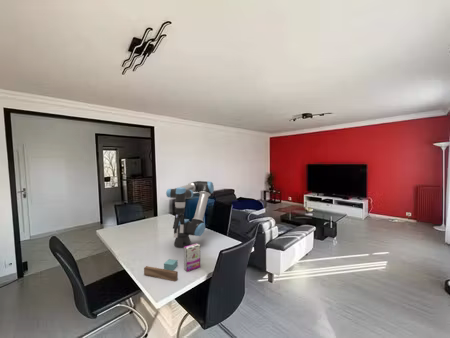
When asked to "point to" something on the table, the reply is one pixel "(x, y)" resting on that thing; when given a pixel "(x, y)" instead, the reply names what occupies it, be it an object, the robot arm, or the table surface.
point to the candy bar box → (191, 257)
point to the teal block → (170, 264)
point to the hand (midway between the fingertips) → (178, 235)
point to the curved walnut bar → (161, 273)
